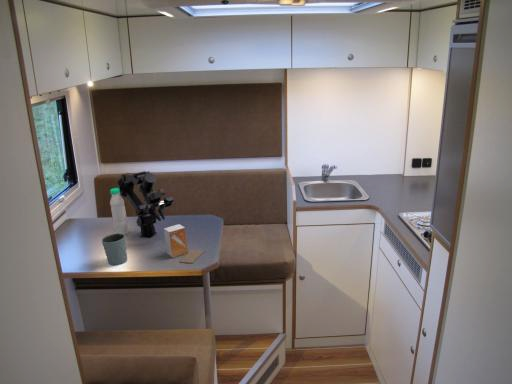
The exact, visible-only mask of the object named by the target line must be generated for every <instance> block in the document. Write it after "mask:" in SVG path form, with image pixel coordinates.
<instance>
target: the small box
mask: <svg viewBox="0 0 512 384" xmlns="http://www.w3.org/2000/svg"><path fill="white" fill-rule="evenodd" d="M163 232H164V240H165V241H164V242H165V247H166V253H167V255H168V256H169V257H171V258H176V257H179V256H182V255H186V254H187V253H189V250H188V243H187V241H188V240H187V235H186V234H187V233H186V227H185V226H183V225H181V224H179V223H178V224H175V225H174V224H173V225H171V226H168V227H164V228H163Z"/></svg>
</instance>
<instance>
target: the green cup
mask: <svg viewBox="0 0 512 384" xmlns="http://www.w3.org/2000/svg"><path fill="white" fill-rule="evenodd" d="M101 244H102V246H103V250H104V253H105V256H106V259H107V260H106V261H107V263H108V265H109V266H112V267H114V266H115V267H116V266H121V265H123V264H125V263H127V262H128V253H127V243H126V235H124V234H121V233H116V234H115V233H112V234H108V235H106V236H104V237H102V238H101Z"/></svg>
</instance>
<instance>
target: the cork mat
mask: <svg viewBox="0 0 512 384" xmlns="http://www.w3.org/2000/svg"><path fill="white" fill-rule="evenodd" d="M203 253H205V250H202V249H190V250H189V251H188V253H186V254H184V256H183V257H182V258H180V260H179V261H178V263H181V264H182V263H183V264H190V265H191V264H194V263H195V262H196V261H197V260H198V259H199V257H200V256H201V255H203Z"/></svg>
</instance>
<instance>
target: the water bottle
mask: <svg viewBox="0 0 512 384" xmlns="http://www.w3.org/2000/svg"><path fill="white" fill-rule="evenodd" d="M109 193H110V195H111V198H110V200H109V201H110V202H109V205H110V209H111V215H112V221H113V227H114V234H116V233H121V234H124V235H125V236H126V235H128V234H129V232H130V228H129V224H128V220H127V213H126V206H125V200H124V199H123V198H122V197H123V196H122V195H121V194H120V189H119V188H117V187H114V188H111V189H110V191H109Z"/></svg>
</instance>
